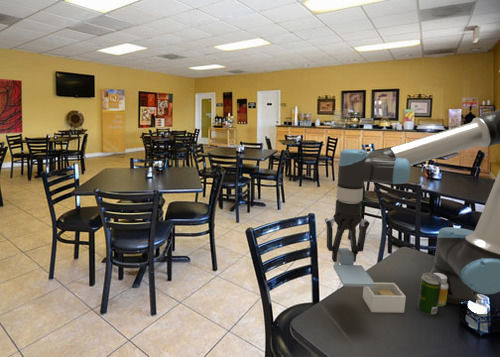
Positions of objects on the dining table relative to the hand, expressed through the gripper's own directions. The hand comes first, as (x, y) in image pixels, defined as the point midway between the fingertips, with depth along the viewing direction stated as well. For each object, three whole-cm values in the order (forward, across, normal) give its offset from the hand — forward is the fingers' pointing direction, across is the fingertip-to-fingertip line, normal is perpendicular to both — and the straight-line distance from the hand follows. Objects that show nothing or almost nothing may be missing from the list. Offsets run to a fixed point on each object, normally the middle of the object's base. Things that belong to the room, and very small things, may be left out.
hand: (342, 270), depth 100 cm
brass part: (+11, -14, +2) cm, 18 cm away
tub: (+11, -13, +2) cm, 18 cm away
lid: (-3, 0, +6) cm, 7 cm away
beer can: (+12, -26, +4) cm, 29 cm away
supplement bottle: (+12, -32, -1) cm, 34 cm away
